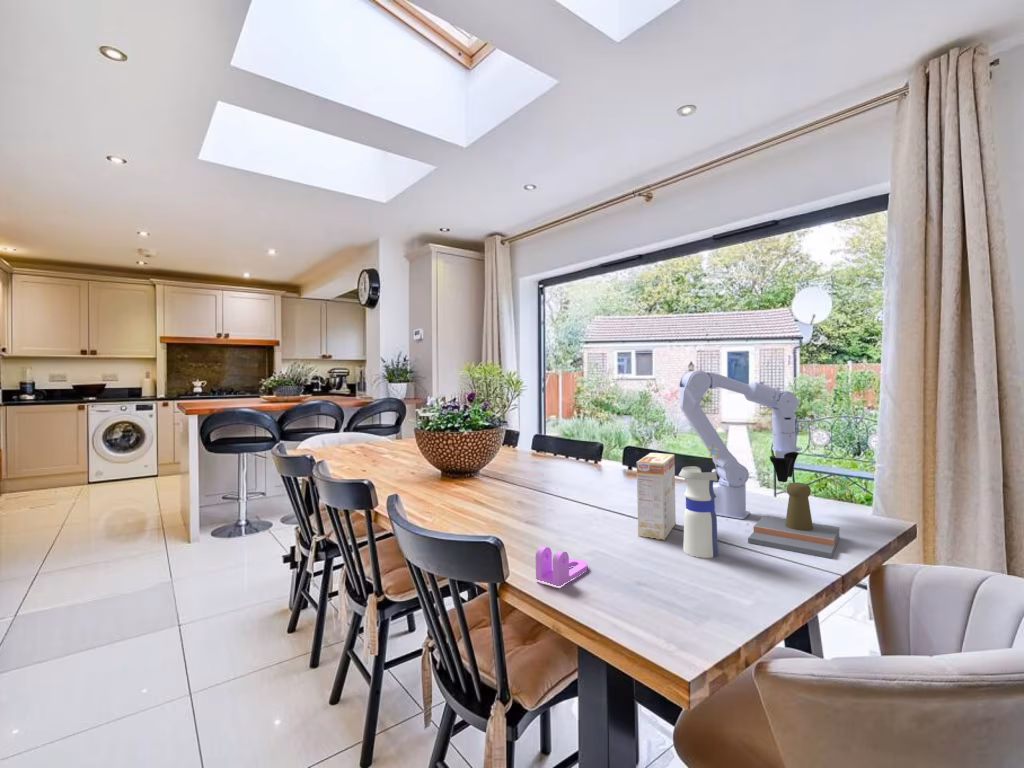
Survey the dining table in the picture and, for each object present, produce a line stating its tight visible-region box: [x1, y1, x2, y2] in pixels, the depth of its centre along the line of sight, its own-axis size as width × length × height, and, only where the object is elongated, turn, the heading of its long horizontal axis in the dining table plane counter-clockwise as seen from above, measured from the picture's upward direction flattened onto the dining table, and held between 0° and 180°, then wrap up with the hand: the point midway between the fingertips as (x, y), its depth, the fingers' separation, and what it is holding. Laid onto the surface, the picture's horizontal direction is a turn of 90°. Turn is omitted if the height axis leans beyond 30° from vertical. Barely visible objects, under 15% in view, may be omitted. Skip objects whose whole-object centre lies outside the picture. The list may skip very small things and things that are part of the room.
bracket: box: [535, 545, 588, 586], centre depth 100 cm, size 13×6×7 cm, turn 141°
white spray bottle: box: [678, 444, 719, 559], centre depth 112 cm, size 8×9×25 cm
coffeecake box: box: [636, 452, 677, 541], centre depth 127 cm, size 15×7×20 cm, turn 150°
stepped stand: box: [747, 515, 840, 559], centre depth 118 cm, size 17×17×3 cm
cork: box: [785, 481, 813, 531], centre depth 120 cm, size 6×6×11 cm
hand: (785, 479), depth 138 cm, fingers open, 7 cm apart
